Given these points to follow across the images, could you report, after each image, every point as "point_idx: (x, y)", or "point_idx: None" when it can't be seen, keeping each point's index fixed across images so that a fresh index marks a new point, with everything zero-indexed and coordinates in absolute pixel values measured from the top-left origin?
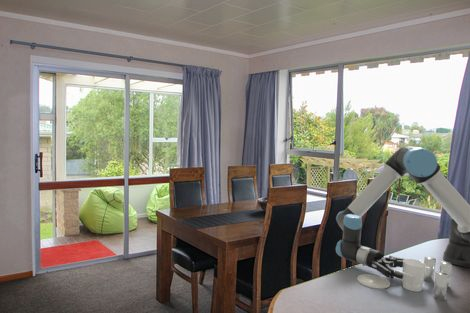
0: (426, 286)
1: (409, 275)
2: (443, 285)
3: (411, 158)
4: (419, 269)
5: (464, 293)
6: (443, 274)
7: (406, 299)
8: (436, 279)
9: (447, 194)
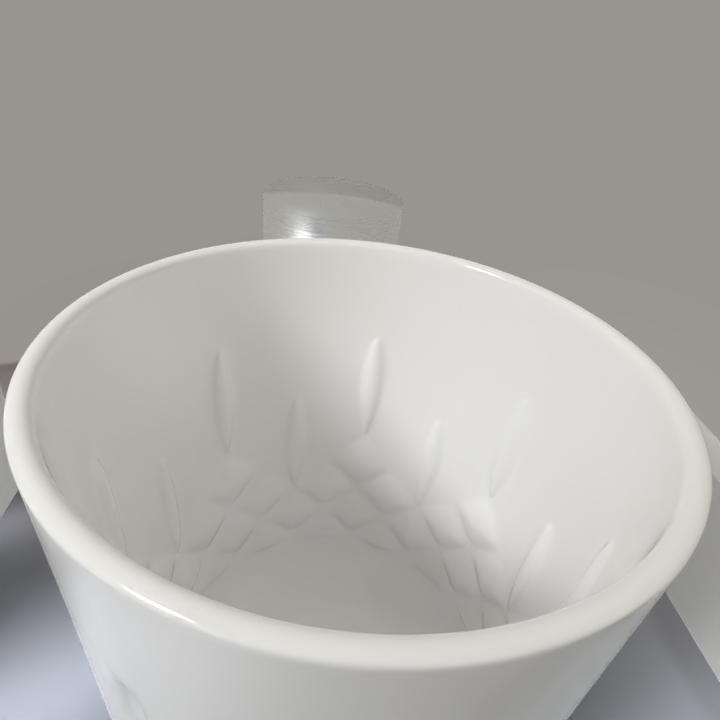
0: (69, 625)
1: (703, 432)
2: None
3: None
4: (467, 320)
5: (10, 367)
6: (334, 189)
7: None
8: None
9: None
